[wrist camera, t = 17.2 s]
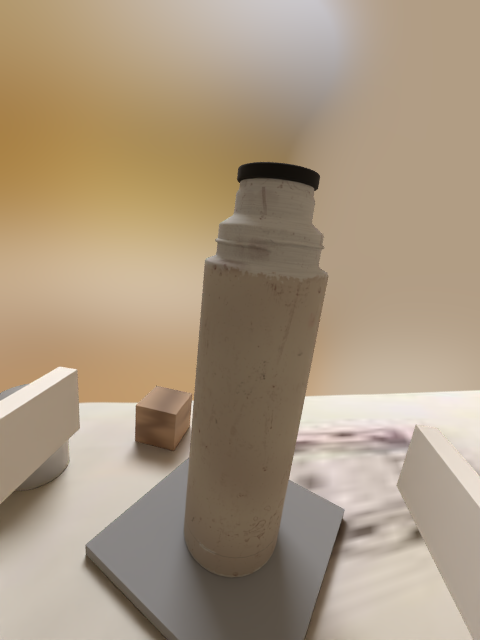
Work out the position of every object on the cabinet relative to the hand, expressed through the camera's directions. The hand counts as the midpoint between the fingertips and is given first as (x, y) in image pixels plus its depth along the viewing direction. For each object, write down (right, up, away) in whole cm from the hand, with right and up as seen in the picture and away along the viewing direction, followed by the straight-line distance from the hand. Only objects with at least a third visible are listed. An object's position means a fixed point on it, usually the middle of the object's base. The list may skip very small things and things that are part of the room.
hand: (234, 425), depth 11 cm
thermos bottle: (-1, -14, +14) cm, 20 cm away
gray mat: (-1, -15, +14) cm, 20 cm away
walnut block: (-9, -10, +26) cm, 30 cm away
